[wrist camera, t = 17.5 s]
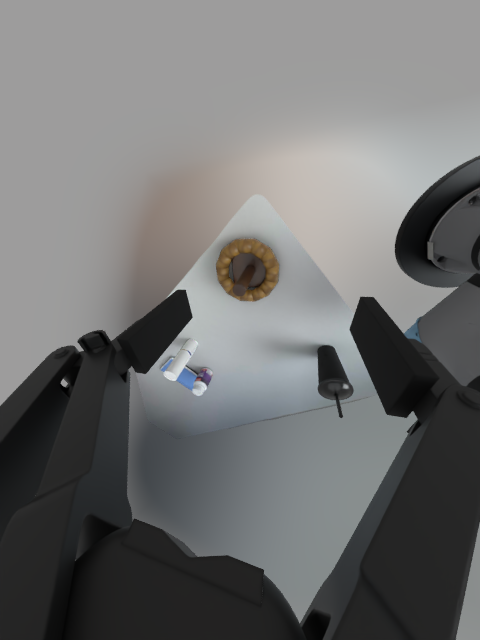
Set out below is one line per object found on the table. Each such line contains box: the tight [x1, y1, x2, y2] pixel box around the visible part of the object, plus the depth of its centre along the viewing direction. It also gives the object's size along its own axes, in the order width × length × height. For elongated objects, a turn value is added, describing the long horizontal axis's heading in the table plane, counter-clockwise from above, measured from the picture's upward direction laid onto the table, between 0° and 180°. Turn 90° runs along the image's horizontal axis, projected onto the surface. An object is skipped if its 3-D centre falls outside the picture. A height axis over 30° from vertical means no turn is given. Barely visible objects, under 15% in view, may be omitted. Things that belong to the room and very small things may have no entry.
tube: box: [164, 339, 198, 381], centre depth 60 cm, size 4×4×15 cm
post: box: [232, 253, 266, 297], centre depth 40 cm, size 9×9×14 cm
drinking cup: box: [318, 345, 354, 418], centre depth 46 cm, size 8×8×20 cm
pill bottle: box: [192, 368, 213, 396], centre depth 69 cm, size 5×5×10 cm
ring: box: [216, 238, 279, 302], centre depth 43 cm, size 15×15×3 cm
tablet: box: [161, 357, 198, 391], centre depth 77 cm, size 19×13×1 cm, turn 50°
